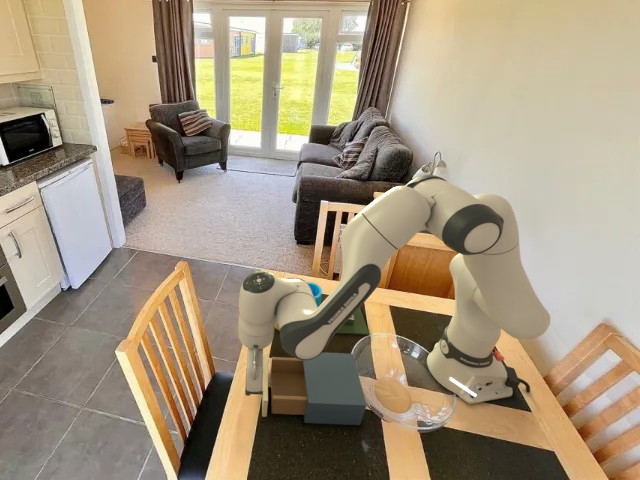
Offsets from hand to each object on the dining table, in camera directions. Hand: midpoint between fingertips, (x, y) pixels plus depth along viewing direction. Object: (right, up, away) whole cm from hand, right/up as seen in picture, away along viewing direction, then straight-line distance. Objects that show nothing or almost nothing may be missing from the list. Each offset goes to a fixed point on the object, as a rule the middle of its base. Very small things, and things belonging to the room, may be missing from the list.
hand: (254, 365), depth 83 cm
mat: (+31, 0, +30) cm, 43 cm away
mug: (+19, +3, +34) cm, 39 cm away
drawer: (+7, -11, +5) cm, 14 cm away
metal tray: (+31, +1, +29) cm, 43 cm away
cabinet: (+21, -12, +6) cm, 25 cm away
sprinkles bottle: (+9, -1, +26) cm, 28 cm away
